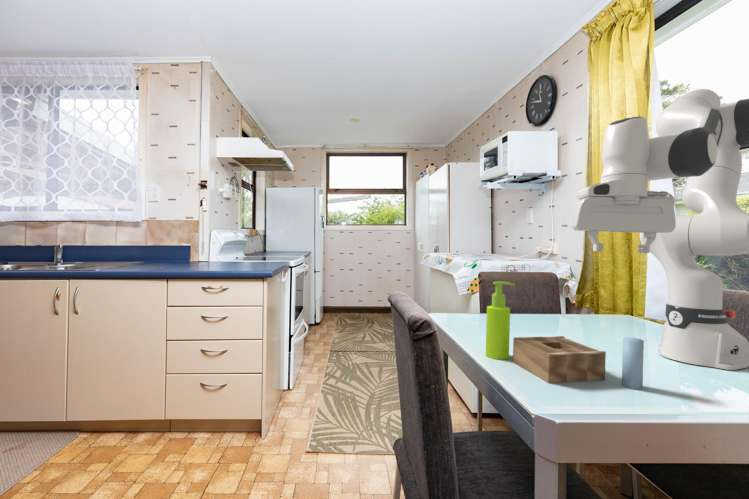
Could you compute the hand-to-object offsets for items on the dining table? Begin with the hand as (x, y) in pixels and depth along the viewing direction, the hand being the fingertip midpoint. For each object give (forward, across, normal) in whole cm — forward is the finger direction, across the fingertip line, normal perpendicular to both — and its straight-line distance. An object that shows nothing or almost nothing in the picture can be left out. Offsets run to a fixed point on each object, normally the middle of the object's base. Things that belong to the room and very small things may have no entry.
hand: (620, 252), depth 82 cm
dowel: (+29, -2, +4) cm, 29 cm away
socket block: (+29, +11, -4) cm, 31 cm away
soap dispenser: (+29, +23, -12) cm, 39 cm away
